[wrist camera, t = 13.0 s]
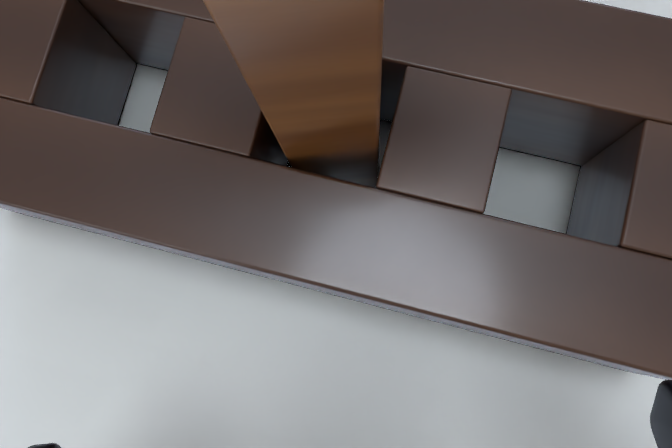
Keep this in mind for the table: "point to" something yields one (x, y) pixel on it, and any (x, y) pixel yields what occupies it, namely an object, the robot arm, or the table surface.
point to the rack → (396, 169)
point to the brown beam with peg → (313, 77)
